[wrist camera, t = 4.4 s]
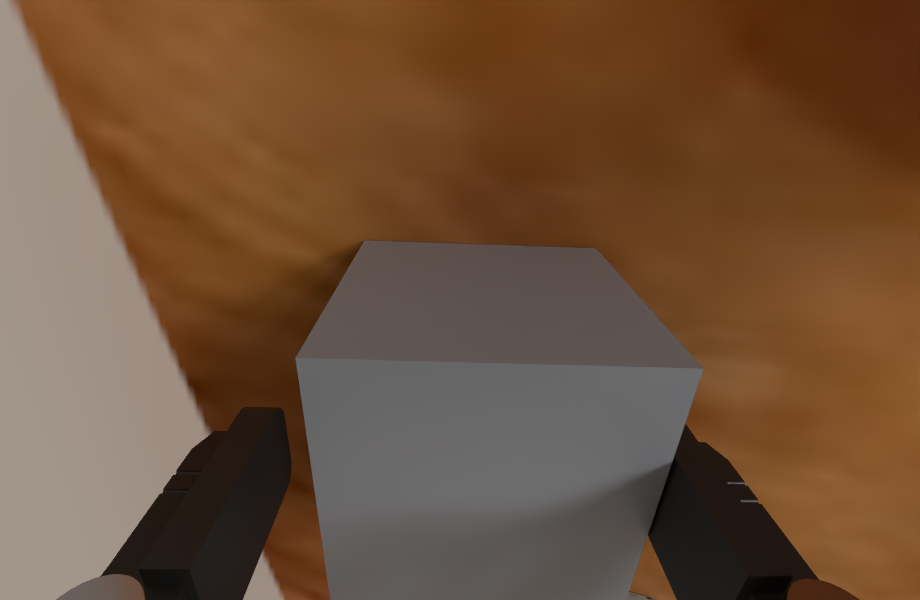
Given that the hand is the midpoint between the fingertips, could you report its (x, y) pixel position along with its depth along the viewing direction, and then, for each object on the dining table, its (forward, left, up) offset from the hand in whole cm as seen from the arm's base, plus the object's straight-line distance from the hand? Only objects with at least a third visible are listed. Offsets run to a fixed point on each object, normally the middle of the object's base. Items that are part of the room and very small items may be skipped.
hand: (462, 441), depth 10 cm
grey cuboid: (-1, 0, -5) cm, 5 cm away
